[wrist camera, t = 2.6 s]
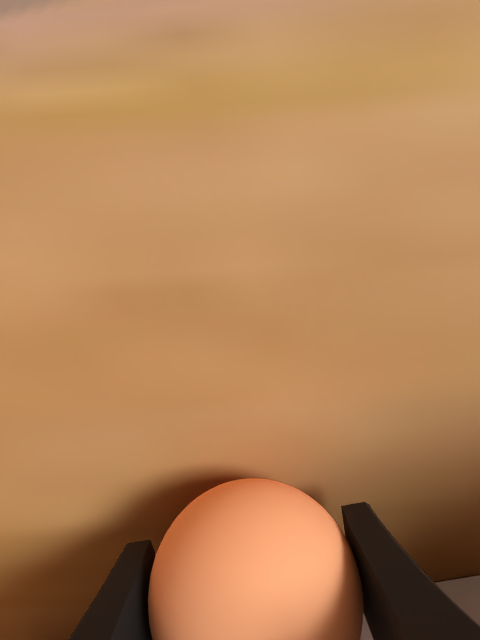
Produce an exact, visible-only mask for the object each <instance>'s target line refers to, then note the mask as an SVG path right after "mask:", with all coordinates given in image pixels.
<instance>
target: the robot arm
mask: <svg viewBox="0 0 480 640" xmlns="http://www.w3.org/2000/svg"><path fill="white" fill-rule="evenodd" d="M341 507H342V514H343V522H344V529H345V536H346V539H347V540H348V543H349V545H350V547H351V550H352V552H353V555H354V557H355V559H356V562H357V566H358V570H359V574H360V578H361V583H362V591H363V606H364V609H363V613H364V616H365V618H366V621H367V624H368V626H369V629H370V632H371V634H372V637H373V639H374V640H480V626H479V625H478V624H477V623H476V622H475V621H474V620H473V619H472V618H470V617H469V616H468V615H467V614H466V613H465V612H464V611H463V610H462V609H461V608H460V607H459V606H458V605H457V604H456V603H455V602H453V601H452V600H451V599H450V598H449V597H448V596H447V595H446V594H445V593H444V592H443V591H442V590H441V589H440V588H439V587H438V586H437V585H436V584H435V583H434V582H433V581H432V580H431V578H430V577H429V576H428V575H427V574H426V573H425V572H424V571H423V570H422V569H421V568H420V567H419V566H418V564H417V563H416V562H415V561H414V560H413V559H412V558H411V557H410V556H409V555H408V554H407V552H406V551H405V550H404V549H403V548H402V547H401V545H400V544H399V543H398V542H397V541H396V540H395V538H394V537H393V536H392V535H391V533H390V532H389V531H388V530H387V528H386V527H385V526H384V525H383V523H382V522H381V521H380V519H379V518H378V517H377V515H376V514H375V513H374V511H373V510H372V508H371V507H370V505H368V504H367V503H365V502H362V503H356V504H350V505H345V506H341ZM155 556H156V555H155V552H154V549H153V546H152V543H151V540H145V541H139V542H134V543H128V544H127V545H126V547H125V548H124V550H123V552H122V553H121V555H120V557H119V558H118V560H117V562H116V564H115V565H114V567H113V569H112V570H111V572H110V574H109V576H108V577H107V579H106V581H105V582H104V584H103V586H102V587H101V589H100V591H99V592H98V594H97V596H96V597H95V599H94V600H93V602H92V604H91V605H90V607H89V608H88V610H87V612H86V613H85V615H84V616H83V618H82V620H81V621H80V623H79V624H78V626H77V627H76V629H75V630H74V632H73V633H72V635H71V636H70V638H69V639H68V640H153V639H152V635H151V630H150V625H149V614H148V593H149V583H150V575H151V571H152V567H153V564H154V560H155Z"/></svg>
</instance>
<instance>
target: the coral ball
mask: <svg viewBox="0 0 480 640" xmlns="http://www.w3.org/2000/svg"><path fill="white" fill-rule="evenodd" d="M363 609H364V606H363V591H362V583H361V578H360V574H359V570H358V566H357V562H356V559H355V557H354V555H353V552H352V550H351V547H350V545H349V543H348V540H347V539H346V537H345V536H344V534H343V532H342V531H341V529H340V527H339V526H338V524H337V523H336V522H335V520H334V519H333V518H332V517H331V516H330V515H329V514H328V512H327V511H326V510H325V509H324V508H323V507H322V506H321V505H320V504H318V503H317V502H316V501H315V500H314V499H312V498H311V497H310V496H308V495H307V494H305V493H303V492H302V491H300V490H298V489H296V488H294V487H292V486H289V485H287V484H284V483H281V482H278V481H274V480H269V479H260V478H247V479H239V480H234V481H230V482H226V483H223V484H220V485H218V486H216V487H214V488H212V489H210V490H208V491H206V492H205V493H203V494H202V495H200V496H198V497H197V498H196V499H194V500H193V501H192V502H191V503H190V504H189V505H188V506H187V507H186V508H185V509H184V510H183V511H182V512H181V513H180V514H179V515H178V516H177V517H176V519H175V520H174V522H173V523H172V525H171V526H170V528H169V529H168V531H167V532H166V534H165V536H164V538H163V540H162V542H161V544H160V546H159V549H158V551H157V553H156V556H155V560H154V564H153V567H152V571H151V575H150V583H149V593H148V614H149V625H150V630H151V635H152V639H153V640H360V637H361V632H362V625H363Z"/></svg>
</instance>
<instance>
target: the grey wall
mask: <svg viewBox="0 0 480 640" xmlns="http://www.w3.org/2000/svg"><path fill="white" fill-rule="evenodd" d="M435 584H436V585H437V586H438V587H439V588H440V589H441V590H442V591H443V592H444V593H445V594H446V595H447V596H448V597H449V598H450V599H451V600H452V601H453V602H455V603H456V604H457V605H458V606H459V607H460V608H461V609H462V610H463V611H464V612H465V613H466V614H467V615H468V616H469V617H470V618H472V619H473V620H474V621H475V622H476V623H477V624H478V625H479V626H480V575H478V576H472V577H466V578H460V579H454V580H448V581H442V582H436V583H435ZM360 640H374V639H373V637H372V634H371V632H370V629H369V626H368V624H367V621H366V618H365V616H364V613H363V625H362V632H361V637H360Z"/></svg>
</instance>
